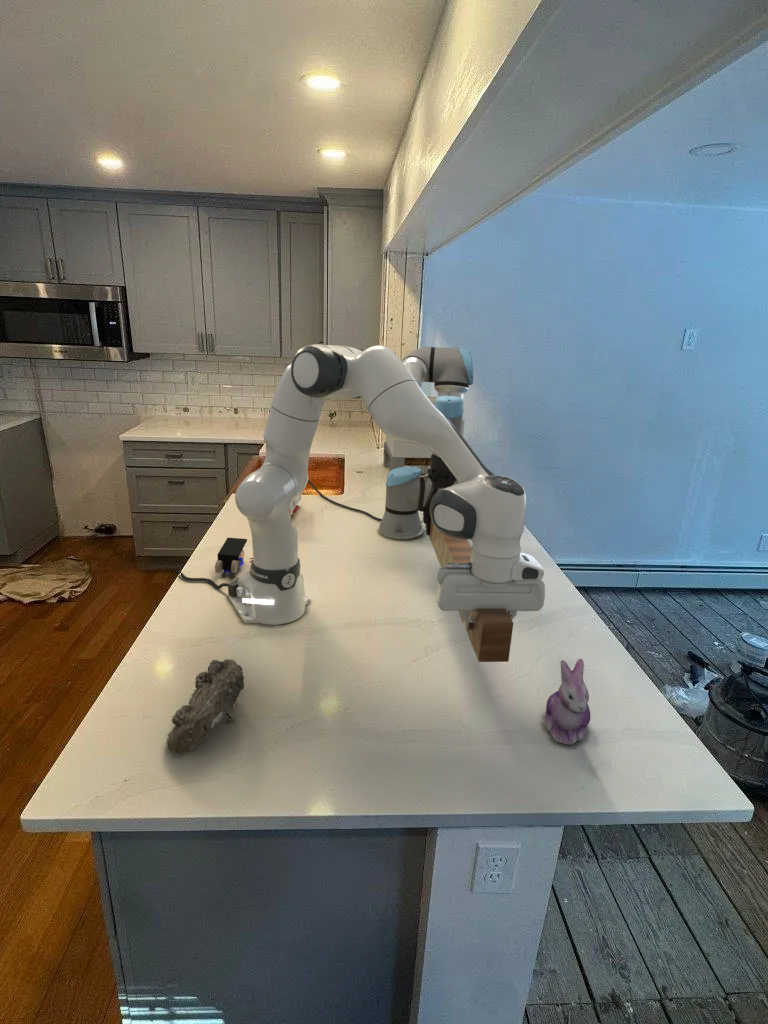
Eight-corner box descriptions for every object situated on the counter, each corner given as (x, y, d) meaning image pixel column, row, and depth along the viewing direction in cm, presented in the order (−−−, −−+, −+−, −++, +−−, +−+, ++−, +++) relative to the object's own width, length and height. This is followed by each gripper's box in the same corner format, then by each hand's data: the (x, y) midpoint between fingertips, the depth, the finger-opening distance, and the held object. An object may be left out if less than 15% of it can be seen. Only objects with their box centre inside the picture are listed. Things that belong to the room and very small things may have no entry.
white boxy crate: (382, 463, 289) (386, 382, 275) (445, 464, 293) (451, 384, 279) (390, 482, 257) (394, 392, 243) (460, 483, 261) (468, 394, 247)
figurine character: (238, 584, 162) (249, 557, 175) (236, 562, 158) (247, 536, 172) (215, 584, 161) (227, 556, 175) (212, 561, 158) (225, 535, 171)
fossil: (192, 660, 117) (244, 628, 112) (224, 691, 120) (276, 661, 115) (142, 746, 98) (202, 712, 93) (182, 779, 101) (242, 748, 96)
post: (425, 527, 167) (427, 501, 165) (443, 527, 168) (446, 501, 165) (478, 662, 104) (482, 623, 101) (508, 661, 104) (513, 622, 102)
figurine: (568, 754, 103) (581, 685, 97) (530, 719, 111) (540, 654, 106) (605, 739, 107) (619, 671, 102) (565, 706, 115) (577, 642, 110)
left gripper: (441, 570, 101) (435, 637, 106) (552, 571, 103) (541, 637, 108) (436, 555, 107) (430, 619, 112) (541, 556, 109) (531, 619, 114)
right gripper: (412, 457, 149) (407, 538, 157) (482, 458, 150) (473, 539, 158) (409, 450, 156) (404, 528, 164) (475, 451, 157) (467, 529, 165)
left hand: (485, 628), depth 110 cm, fingers closed on post, 5 cm apart
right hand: (438, 533), depth 161 cm, fingers closed on post, 6 cm apart
